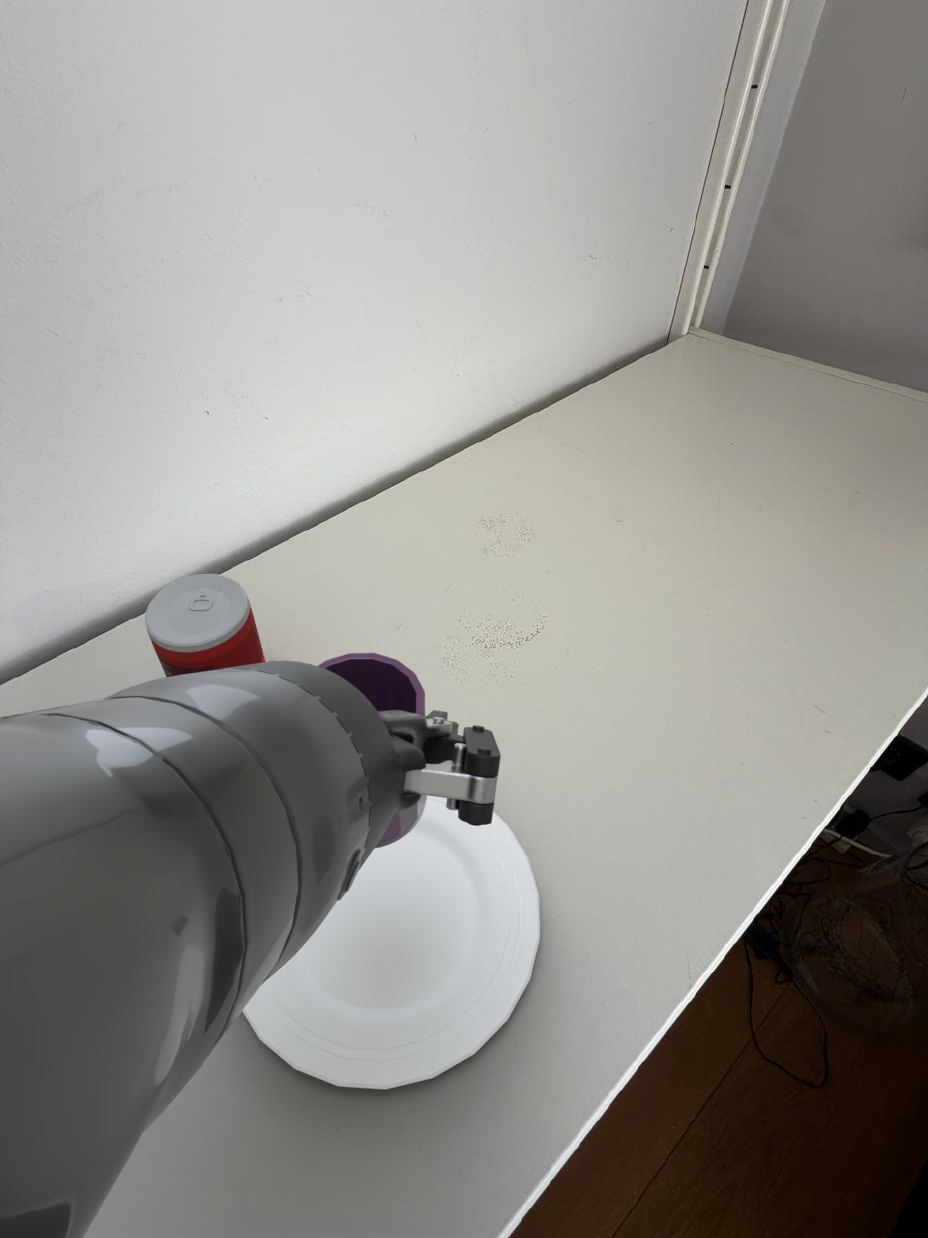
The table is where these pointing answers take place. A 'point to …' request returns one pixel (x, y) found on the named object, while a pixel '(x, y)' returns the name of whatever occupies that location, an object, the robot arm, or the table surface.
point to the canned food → (203, 625)
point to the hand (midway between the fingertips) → (372, 721)
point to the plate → (409, 959)
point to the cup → (386, 691)
